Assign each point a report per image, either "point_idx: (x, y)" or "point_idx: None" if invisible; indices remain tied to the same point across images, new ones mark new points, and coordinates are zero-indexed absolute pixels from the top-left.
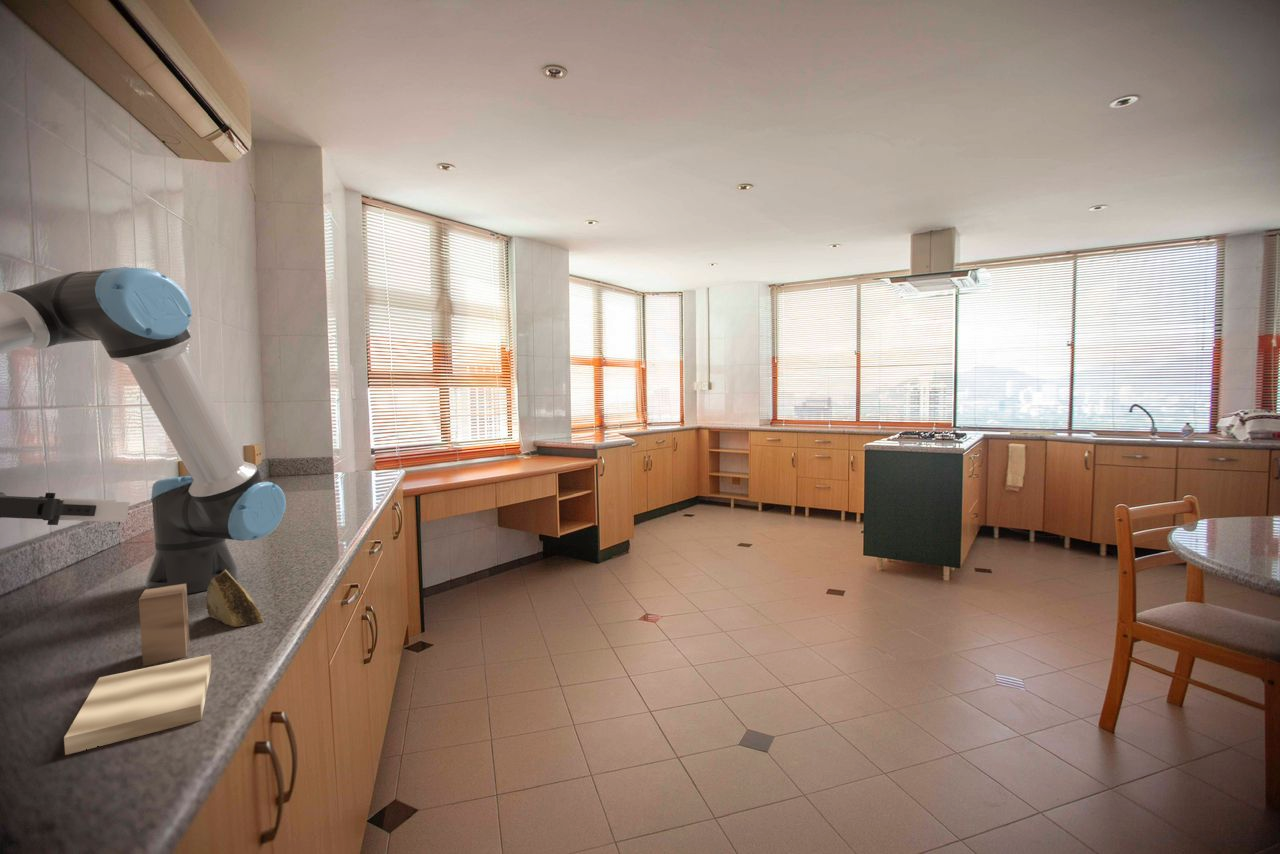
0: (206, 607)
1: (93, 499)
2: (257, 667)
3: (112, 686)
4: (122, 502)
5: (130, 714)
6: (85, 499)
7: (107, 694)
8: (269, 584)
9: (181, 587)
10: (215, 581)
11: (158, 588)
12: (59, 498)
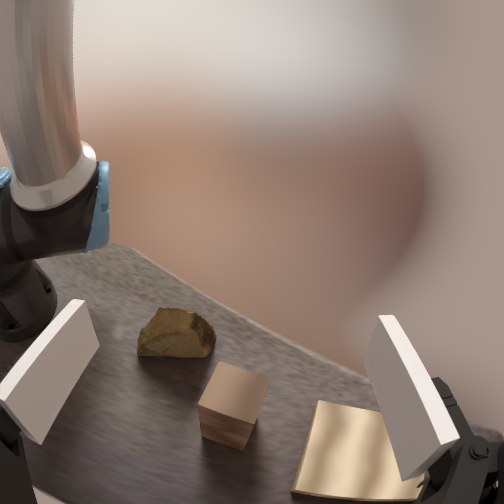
0: (138, 350)
1: (57, 333)
2: (345, 378)
3: (336, 479)
4: (398, 326)
5: None
6: (46, 347)
7: (355, 482)
8: (101, 283)
9: (238, 371)
10: (192, 330)
11: (210, 390)
12: (11, 397)
